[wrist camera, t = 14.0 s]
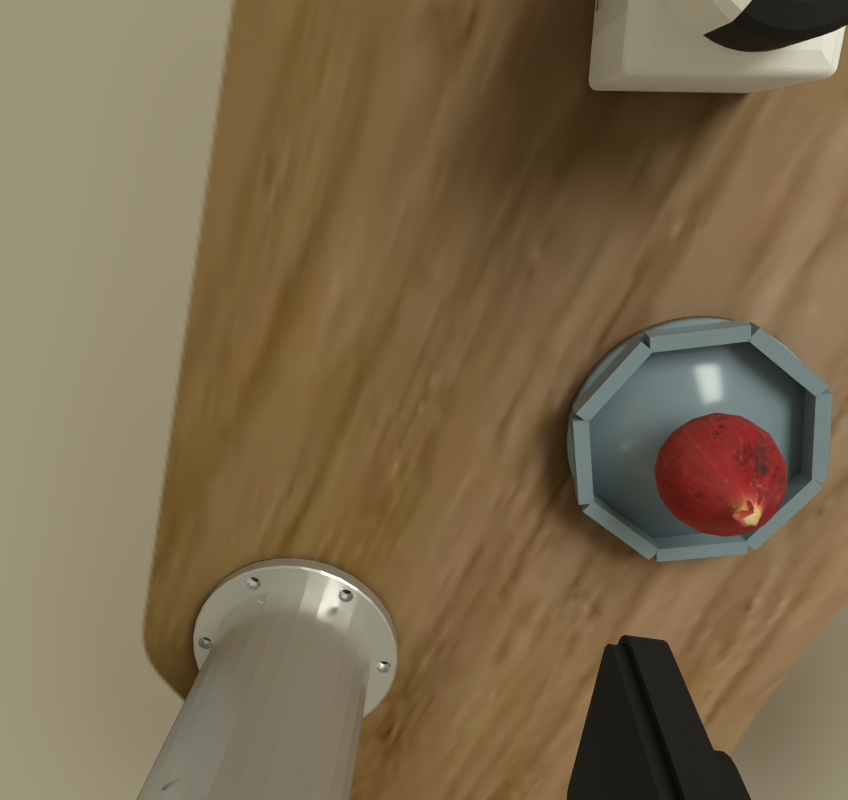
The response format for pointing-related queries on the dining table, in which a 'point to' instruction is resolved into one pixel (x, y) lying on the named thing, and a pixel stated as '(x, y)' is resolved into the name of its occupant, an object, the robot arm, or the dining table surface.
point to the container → (714, 44)
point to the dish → (676, 405)
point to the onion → (721, 475)
